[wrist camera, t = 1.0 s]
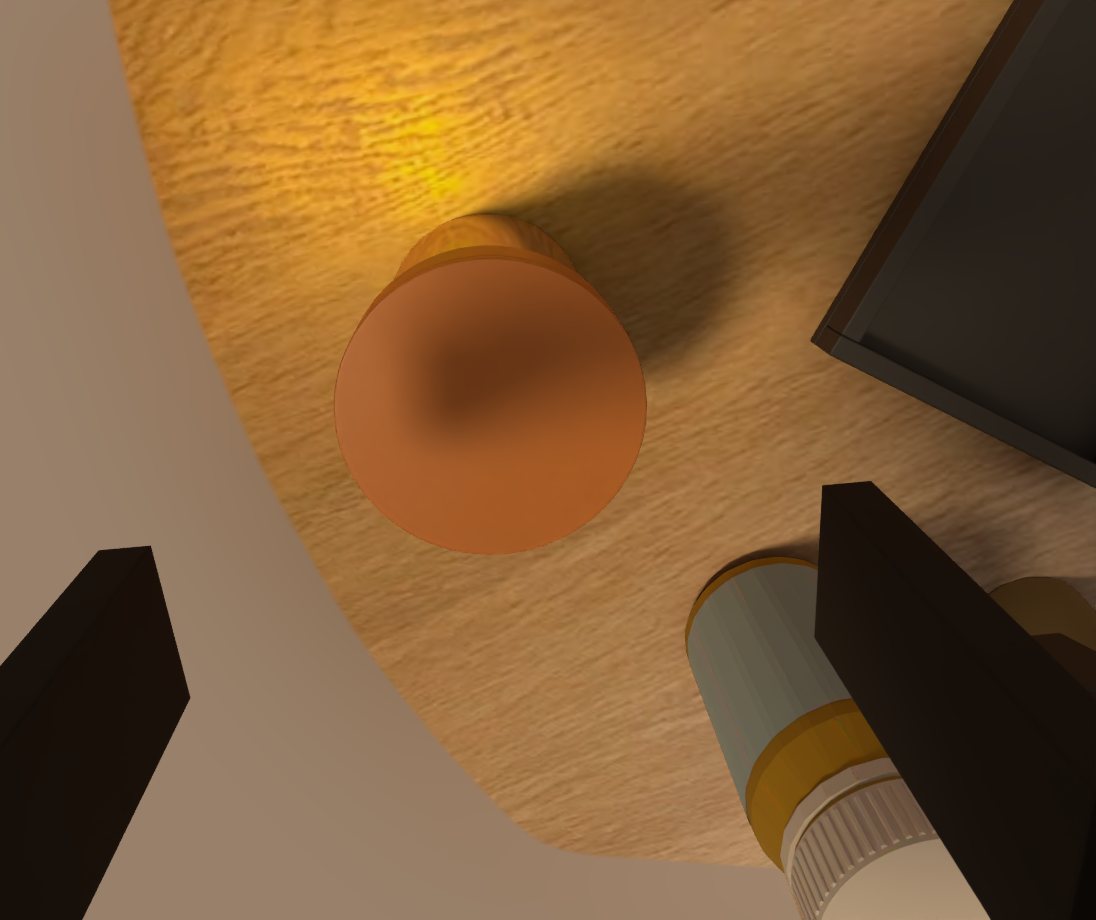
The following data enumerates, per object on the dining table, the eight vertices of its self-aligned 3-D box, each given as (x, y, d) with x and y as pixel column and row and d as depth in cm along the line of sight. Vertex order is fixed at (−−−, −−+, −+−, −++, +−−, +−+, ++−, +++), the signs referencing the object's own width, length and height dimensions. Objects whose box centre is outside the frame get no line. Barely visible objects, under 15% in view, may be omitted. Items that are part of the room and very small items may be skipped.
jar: (533, 435, 34) (555, 574, 24) (359, 359, 32) (305, 474, 22) (619, 267, 32) (683, 343, 22) (437, 177, 30) (416, 215, 20)
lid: (554, 560, 26) (560, 598, 24) (302, 458, 24) (286, 490, 22) (684, 323, 23) (703, 343, 21) (415, 191, 22) (408, 199, 20)
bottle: (664, 682, 39) (769, 1009, 25) (704, 538, 36) (844, 811, 22) (817, 699, 40) (1001, 1024, 26) (865, 560, 37) (1098, 835, 23)
